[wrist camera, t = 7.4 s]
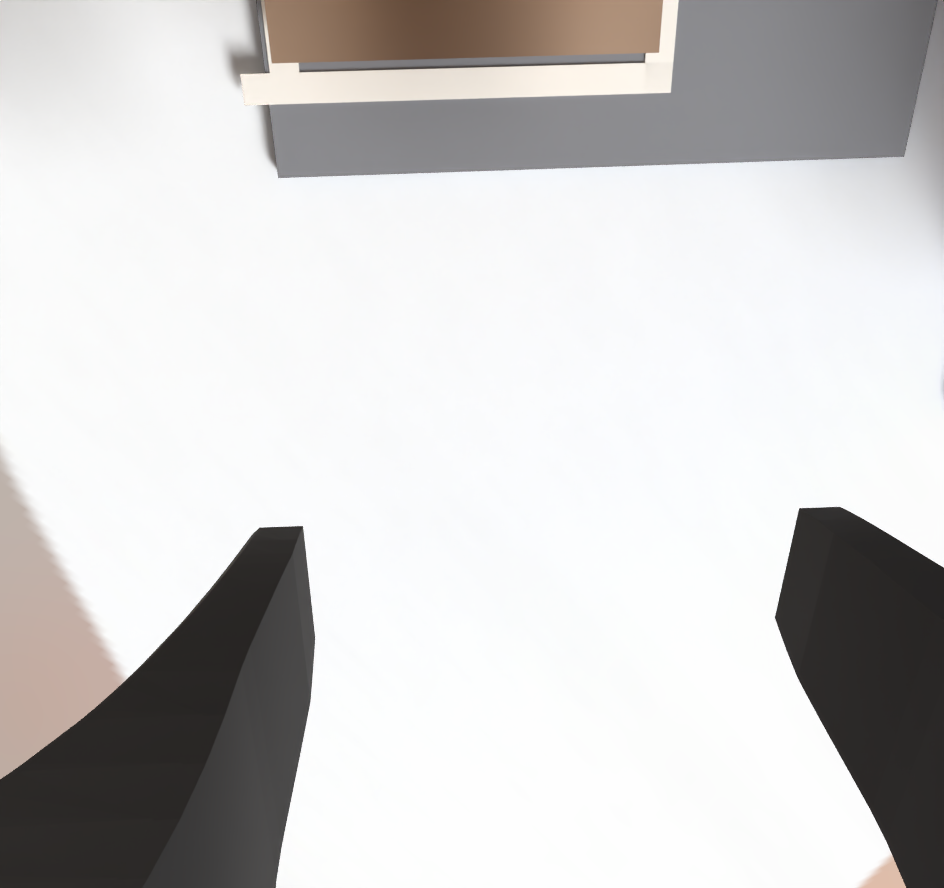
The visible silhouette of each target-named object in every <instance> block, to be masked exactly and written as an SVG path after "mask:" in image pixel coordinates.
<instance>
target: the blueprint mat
mask: <svg viewBox="0 0 944 888" xmlns="http://www.w3.org/2000/svg"><path fill="white" fill-rule="evenodd" d="M937 1H938V0H663V8H662V21H661V34H660V47H659V53H630V54H595V55H559V56H523V57H487V58H451V59H415V60H379V61H344V62H308V63H272V61H271V53H270V45H269V36H268V28H267V20H266V11H265V3H264V0H256V3H257V11H258V19H259V27H260V35H261V43H262V51H263V59H264V67H265V73H257V74H240V76H241V83H242V90H243V98H244V105H269V107H270V115H271V123H272V132H273V140H274V148H275V156H276V164H277V172H278V178H289V177H318V176H348V175H377V174H406V173H436V172H465V171H495V170H524V169H553V168H583V167H612V166H641V165H671V164H700V163H730V162H759V161H788V160H818V159H847V158H876V157H904V154H905V150H906V145H907V141H908V136H909V131H910V127H911V122H912V117H913V113H914V108H915V103H916V99H917V94H918V89H919V85H920V80H921V75H922V71H923V66H924V61H925V57H926V52H927V47H928V43H929V38H930V34H931V29H932V24H933V20H934V15H935V10H936V6H937Z"/></svg>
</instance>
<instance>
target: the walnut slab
mask: <svg viewBox="0 0 944 888" xmlns="http://www.w3.org/2000/svg"><path fill="white" fill-rule="evenodd" d="M264 3H265V11H266V20H267V28H268V36H269V45H270V53H271V61H272V63H308V62H344V61H379V60H415V59H451V58H487V57H523V56H559V55H595V54H630V53H659V47H660V34H661V21H662V8H663V0H264Z"/></svg>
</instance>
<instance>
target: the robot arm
mask: <svg viewBox="0 0 944 888" xmlns="http://www.w3.org/2000/svg"><path fill="white" fill-rule="evenodd" d="M775 619H776V622H777V625H778V627H779V630H780V633H781V636H782V639H783V641H784V644H785V647H786V650H787V652H788V655H789V657H790V660H791V662H792V665H793V667H794V670H795V672H796V675H797V677H798V679H799V681H800V683H801V685H802V687H803V689H804V691H805V693H806V694H807V696H808V698H809V700H810V702H811V704H812V705H813V707H814V709H815V711H816V713H817V715H818V716H819V718H820V720H821V722H822V724H823V726H824V727H825V729H826V731H827V733H828V735H829V736H830V738H831V740H832V742H833V744H834V745H835V747H836V749H837V751H838V752H839V754H840V756H841V758H842V760H843V761H844V763H845V765H846V767H847V769H848V770H849V772H850V774H851V776H852V778H853V779H854V781H855V783H856V785H857V787H858V788H859V790H860V792H861V794H862V795H863V797H864V799H865V801H866V803H867V804H868V806H869V808H870V810H871V812H872V814H873V816H874V818H875V820H876V822H877V824H878V826H879V828H880V830H881V832H882V834H883V836H884V838H885V839H886V842H887V844H888V846H889V848H890V851H891V853H892V855H893V858H894V860H895V862H896V865H897V867H898V869H899V872H900V874H901V876H902V879H903V881H904V883H905V886H906V888H944V568H943V567H942V566H940V565H938V564H937V563H935V562H933V561H932V560H930V559H928V558H927V557H925V556H924V555H922V554H920V553H919V552H917V551H915V550H914V549H912V548H910V547H909V546H907V545H906V544H904V543H902V542H901V541H899V540H897V539H896V538H894V537H892V536H891V535H889V534H888V533H886V532H884V531H882V530H881V529H879V528H877V527H876V526H874V525H872V524H871V523H869V522H867V521H865V520H864V519H862V518H860V517H858V516H857V515H855V514H853V513H851V512H849V511H847V510H845V509H843V508H841V507H826V508H799V512H798V517H797V521H796V526H795V530H794V535H793V539H792V544H791V548H790V553H789V557H788V562H787V566H786V571H785V575H784V580H783V584H782V589H781V593H780V598H779V602H778V607H777V611H776V616H775ZM314 646H315V633H314V624H313V615H312V606H311V596H310V587H309V578H308V569H307V560H306V551H305V541H304V532H303V526H295V527H267V528H259V529H258V530H257V531H256V532H255V533H254V534H253V535H252V536H251V537H250V538H249V540H248V541H247V542H246V544H245V545H244V546H243V548H242V549H241V550H240V552H239V553H238V554H237V556H236V557H235V558H234V560H233V561H232V562H231V564H230V565H229V566H228V567H227V569H226V570H225V571H224V573H223V574H222V575H221V576H220V578H219V579H218V580H217V581H216V583H215V584H214V585H213V586H212V588H211V589H210V590H209V591H208V592H207V594H206V595H205V596H204V597H203V598H202V599H201V601H200V602H199V603H198V604H197V605H196V607H195V608H194V609H193V610H192V611H191V612H190V614H189V615H188V616H187V617H186V618H185V619H184V621H183V622H182V623H181V624H180V625H179V626H178V627H177V628H176V629H175V631H174V632H173V633H172V634H171V635H170V636H169V637H168V638H167V639H166V640H165V641H164V642H163V643H162V644H161V645H160V646H159V647H158V648H157V649H156V651H155V652H154V653H153V654H152V655H151V656H150V657H149V658H148V659H147V660H146V661H145V662H144V663H143V664H142V665H141V666H140V667H139V668H138V669H137V670H136V671H135V672H134V673H133V674H132V675H131V676H130V677H129V678H128V679H127V680H126V681H125V682H124V683H122V684H121V685H120V686H119V687H118V688H117V689H116V690H115V691H114V692H113V693H112V694H110V695H109V696H108V697H107V698H106V699H105V700H104V701H103V702H101V704H99V705H98V706H97V707H96V708H95V709H94V710H92V711H91V712H90V713H89V714H87V715H86V716H85V717H84V718H83V719H81V720H80V721H79V722H77V723H76V724H75V725H74V726H72V727H71V728H70V729H68V730H67V731H66V732H64V733H63V734H62V735H60V736H59V737H58V738H56V739H55V740H54V741H52V742H51V743H50V744H48V745H47V746H46V747H44V748H43V749H42V750H40V751H39V752H38V753H37V754H35V755H34V756H33V757H31V758H30V759H29V760H27V761H26V762H25V763H23V764H22V765H21V766H19V767H18V768H16V769H15V770H13V771H12V772H11V773H9V774H8V775H6V776H5V777H3V778H2V779H0V888H276V878H277V872H278V866H279V859H280V853H281V846H282V841H283V836H284V831H285V826H286V821H287V816H288V811H289V807H290V802H291V797H292V792H293V787H294V782H295V777H296V772H297V767H298V762H299V757H300V752H301V747H302V742H303V737H304V731H305V726H306V721H307V716H308V711H309V706H310V699H311V687H312V674H313V660H314Z"/></svg>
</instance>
